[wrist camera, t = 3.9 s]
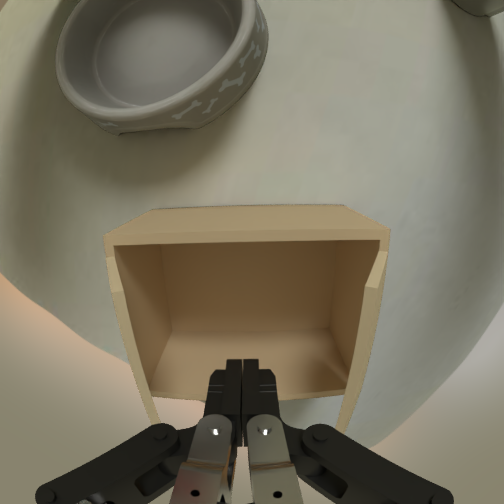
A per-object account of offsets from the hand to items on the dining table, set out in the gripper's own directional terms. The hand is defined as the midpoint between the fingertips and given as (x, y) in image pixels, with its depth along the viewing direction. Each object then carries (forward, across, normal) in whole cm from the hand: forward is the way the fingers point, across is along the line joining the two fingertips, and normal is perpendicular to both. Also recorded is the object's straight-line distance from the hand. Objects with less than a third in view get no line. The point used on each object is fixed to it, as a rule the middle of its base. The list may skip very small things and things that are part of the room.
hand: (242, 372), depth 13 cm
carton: (+13, 0, 0) cm, 13 cm away
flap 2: (+3, -8, 0) cm, 8 cm away
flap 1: (+3, +7, 0) cm, 8 cm away
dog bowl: (+13, +7, -21) cm, 26 cm away
